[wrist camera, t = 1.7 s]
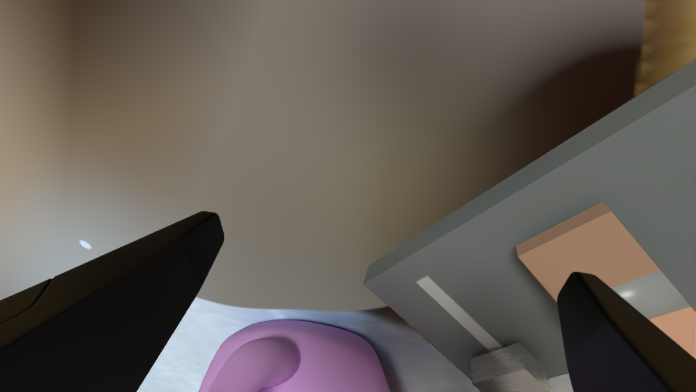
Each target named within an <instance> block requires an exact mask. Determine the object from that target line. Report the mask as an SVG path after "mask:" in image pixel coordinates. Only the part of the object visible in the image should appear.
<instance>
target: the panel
mask: <svg viewBox="0 0 696 392" xmlns="http://www.w3.org/2000/svg"><path fill="white" fill-rule="evenodd" d="M601 202H604V203H605V205H606V206H607V207H608V208H609V209H610V210H611V212H612V213H613V214H614V215H615V216H616V218H617V219H618V220H619V221H620V222H621V224H622V225H623V226H624V227H625V228H626V230H627V231H628V232H629V233H630V234H631V236H632V237H633V238H634V239H635V240H636V242H637V243H638V244H639V245H640V246H641V248H642V249H643V250H644V251H645V252H646V254H647V255H648V256H649V257H650V258H651V260H652V261H653V262H654V263H655V264H656V266H657V267H658V268H659V269H660V270H661V271H662V273H663V274H664V275H665V276H666V277H667V279H668V280H669V281H670V282H671V283H672V285H673V286H674V287H675V288H676V289H677V291H678V292H679V293H680V294H681V295H682V297H683V298H684V299H685V300H686V301H687V303H688V304H689V305H690V306H691V307H692V309H693V310H694V311H695V312H696V59H695V60H694V61H692V62H690V63H689V64H687V65H686V66H684V67H683V68H681V69H679V70H678V71H676V72H675V73H673V74H671V75H670V76H668V77H667V78H665V79H664V80H662V81H660V82H659V83H657V84H656V85H654V86H652V87H651V88H649V89H648V90H646V91H645V92H643V93H641V94H640V95H638V96H637V97H635V98H633V99H632V100H630V101H629V102H627V103H626V104H624V105H622V106H621V107H619V108H618V109H616V110H615V111H613V112H611V113H610V114H608V115H607V116H605V117H603V118H602V119H600V120H599V121H597V122H596V123H594V124H592V125H591V126H589V127H588V128H586V129H584V130H583V131H582V132H580V133H578V134H577V135H575V136H573V137H572V138H570V139H569V140H567V141H565V142H564V143H562V144H561V145H559V146H558V147H556V148H554V149H553V150H551V151H550V152H548V153H547V154H545V155H543V156H542V157H540V158H539V159H537V160H535V161H534V162H532V163H531V164H529V165H528V166H526V167H524V168H523V169H521V170H520V171H518V172H516V173H515V174H513V175H512V176H510V177H509V178H507V179H505V180H504V181H502V182H501V183H499V184H497V185H496V186H494V187H493V188H491V189H490V190H488V191H486V192H485V193H483V194H482V195H481V196H478V197H477V198H475V199H474V200H472V201H471V202H469V203H467V204H466V205H465V206H463V207H461V208H460V209H458V210H456V211H455V212H454V213H452V214H450V215H448V216H447V217H445V218H444V219H442V220H441V221H439V222H437V223H436V224H434V225H433V226H431V227H429V228H428V229H426V230H425V231H423V232H422V233H420V234H418V235H417V236H415V237H414V238H412V239H411V240H409V241H408V242H406V243H404V244H403V245H401V246H399V247H398V248H396V249H395V250H393V251H391V252H390V253H388V254H387V255H386V256H384V257H382V258H380V259H379V260H377V261H376V262H374V263H373V264H371V265H369V266H368V270H367V273H366V277H365V281H364V285H366V286H367V287H368V288H369V289H370V290H371V291H373V293H375V294H376V295H377V296H378V297H379V298H380V299H381V300H382V301H384V302H385V303H386V304H387V305H388V306H389V307H390V308H391V309H393V310H394V311H395V312H396V313H397V314H398V315H399V316H400V317H401V318H403V319H404V320H405V321H406V322H407V323H408V324H409V325H410V326H412V327H413V328H414V329H415V330H416V331H417V332H418V333H419V334H421V335H422V336H423V337H424V338H425V339H426V340H427V341H428V342H430V343H431V344H432V345H433V346H434V347H435V348H436V349H437V350H438V351H440V352H441V353H442V354H443V355H444V356H445V357H446V358H447V359H449V360H450V361H451V362H452V363H453V364H454V365H455V366H456V367H458V368H459V369H460V370H461V371H462V372H463V373H464V374H465V375H467V376H468V377H469V378H470V379H471V380H472V370H471V358H474V357H477V356H480V355H483V354H486V353H489V352H492V351H495V350H497V349H500V348H503V347H506V346H509V345H512V344H515V343H518V342H519V343H520V344H521V345H522V346H523V347H524V348H525V349H526V350H527V351H528V352H529V353H530V354H531V355H532V356H533V357H534V358H535V359H537V360H538V361H539V362H540V363H541V364H542V365H543V366H544V369H545V372H546V375H547V379H548V378H552V377H555V376H559V375H563V374H567V373H569V372H568V368H567V363H566V358H565V351H564V345H563V339H562V332H561V326H560V319H559V313H558V306H557V302H556V301H555V299H554V298H553V297H552V296H551V295H550V294H549V292H548V291H547V290H546V289H545V288H544V287H543V285H542V284H541V283H540V282H539V281H538V280H537V278H536V277H535V276H534V275H533V274H532V273H531V271H530V270H529V269H528V268H527V267H526V266H525V264H524V263H523V262H522V261H521V260H520V259H519V257H518V255H517V250H516V245H518V244H520V243H522V242H524V241H526V240H528V239H530V238H532V237H534V236H536V235H538V234H540V233H542V232H544V231H546V230H548V229H550V228H552V227H554V226H556V225H558V224H560V223H562V222H564V221H566V220H568V219H570V218H572V217H574V216H576V215H577V214H579V213H581V212H583V211H585V210H587V209H589V208H591V207H593V206H595V205H597V204H599V203H601Z"/></svg>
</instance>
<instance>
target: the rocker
mask: <svg viewBox="0 0 696 392" xmlns="http://www.w3.org/2000/svg"><path fill="white" fill-rule="evenodd" d="M516 250H517V255H518V257H519V259H520V260H521V261H522V262H523V263H524V264H525V266H526V267H527V268H528V269H529V270H530V271H531V273H532V274H533V275H534V276H535V277H536V278H537V280H538V281H539V282H540V283H541V284H542V285H543V287H544V288H545V289H546V290H547V291H548V292H549V294H550V295H551V296H552V297H553V298H554V299H555V301H556V302H557V297H558V294H559V292H560V290H561V289H562V287H563V285H564V284H565V282H566V280H567V279H568V277H569V275H570V274H571V273H573V272H583V273H589V274H593V275H596V276H597V277H598V278H600V279H601V280H602V281H603V282H604V283H606V284H607V285H608V286H609V287H610V288H612V289H613V290H614V291H615V292H616V293H617V294H619V295H620V296H621V297H622V298H623V299H625V300H626V301H627V302H628V303H629V304H631V305H632V306H633V307H634V308H635V309H637V310H638V311H639V312H640V313H641V314H643V315H644V316H645V317H646V318H647V319H649V320H650V321H651V322H652V323H653V324H655V325H656V326H657V327H658V328H659V329H661V330H662V331H663V332H664V333H665V334H667V335H668V336H669V337H670V338H671V339H673V340H674V341H675V342H676V343H677V344H678V345H680V346H681V347H682V348H683V349H684V350H686V351H687V352H688V353H689V354H690V355H692V356H693V357H694V358H695V359H696V312H695V311H694V310H693V309H692V307H691V306H690V305H689V304H688V303H687V301H686V300H685V299H684V298H683V297H682V295H681V294H680V293H679V292H678V291H677V289H676V288H675V287H674V286H673V285H672V283H671V282H670V281H669V280H668V279H667V277H666V276H665V275H664V274H663V273H662V271H661V270H660V269H659V268H658V267H657V266H656V264H655V263H654V262H653V261H652V260H651V258H650V257H649V256H648V255H647V254H646V252H645V251H644V250H643V249H642V248H641V246H640V245H639V244H638V243H637V242H636V240H635V239H634V238H633V237H632V236H631V234H630V233H629V232H628V231H627V230H626V228H625V227H624V226H623V225H622V224H621V222H620V221H619V220H618V219H617V218H616V216H615V215H614V214H613V213H612V212H611V210H610V209H609V208H608V207H607V206H606V205H605V203H604V202H601V203H599V204H597V205H595V206H593V207H591V208H589V209H587V210H585V211H583V212H581V213H579V214H577V215H576V216H574V217H572V218H570V219H568V220H566V221H564V222H562V223H560V224H558V225H556V226H554V227H552V228H550V229H548V230H546V231H544V232H542V233H540V234H538V235H536V236H534V237H532V238H530V239H528V240H526V241H524V242H522V243H520V244H518V245H516Z"/></svg>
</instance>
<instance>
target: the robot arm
mask: <svg viewBox="0 0 696 392" xmlns="http://www.w3.org/2000/svg"><path fill="white" fill-rule="evenodd" d="M223 242H224V232H223V229H222V225H221V222H220V218H219V216H218V214H216V213H214V212H208V211H201V212H199V213H196V214H194V215H192V216H190V217H187V218H185V219H183V220H181V221H179V222H176V223H174V224H172V225H170V226H167V227H165V228H163V229H160V230H159V231H156V232H154V233H151V234H149V235H147V236H145V237H143V238H140V239H138V240H136V241H134V242H132V243H129V244H127V245H125V246H123V247H120V248H118V249H116V250H113V251H111V252H109V253H107V254H105V255H102V256H100V257H98V258H95V259H93V260H91V261H89V262H86V263H84V264H82V265H80V266H77V267H75V268H73V269H71V270H68V271H66V272H64V273H62V274H59V275H57V276H55V277H54V278H53V279H48V280H46V281H44V282H41V283H39V284H37V285H35V286H32V287H30V288H28V289H26V290H23V291H21V292H19V293H16V294H14V295H12V296H9V297H7V298H5V299H2V300H0V392H137V390H138V389H139V387H140V385H141V384H142V382H143V381H144V379H145V377H146V376H147V374H148V373H149V371H150V369H151V368H152V366H153V365H154V363H155V361H156V360H157V358H158V357H159V355H160V353H161V352H162V350H163V349H164V347H165V345H166V344H167V342H168V341H169V339H170V337H171V336H172V334H173V333H174V331H175V329H176V328H177V326H178V325H179V323H180V321H181V320H182V318H183V317H184V315H185V313H186V312H187V310H188V309H189V307H190V305H191V304H192V302H193V301H194V299H195V297H196V296H197V294H198V292H199V290H200V289H201V287H202V285H203V283H204V281H205V279H206V277H207V275H208V273H209V271H210V269H211V267H212V265H213V263H214V261H215V259H216V257H217V255H218V253H219V250H220V248H221V246H222V244H223ZM557 306H558V313H559V319H560V326H561V332H562V339H563V345H564V351H565V358H566V363H567V368H568V372H569V376H570V380H571V384H572V387H573V391H574V392H696V359H695V358H694V357H693V356H692V355H690V354H689V353H688V352H687V351H686V350H684V349H683V348H682V347H681V346H680V345H678V344H677V343H676V342H675V341H674V340H673V339H671V338H670V337H669V336H668V335H667V334H665V333H664V332H663V331H662V330H661V329H659V328H658V327H657V326H656V325H655V324H653V323H652V322H651V321H650V320H649V319H647V318H646V317H645V316H644V315H643V314H641V313H640V312H639V311H638V310H637V309H635V308H634V307H633V306H632V305H631V304H629V303H628V302H627V301H626V300H625V299H623V298H622V297H621V296H620V295H619V294H617V293H616V292H615V291H614V290H613V289H612V288H610V287H609V286H608V285H607V284H606V283H604V282H603V281H602V280H601V279H600V278H598V277H597V276H596V275H593V274H589V273H583V272H573V273H571V274H570V275H569V277H568V279H567V280H566V282H565V284H564V285H563V287H562V289H561V290H560V292H559V294H558V297H557Z"/></svg>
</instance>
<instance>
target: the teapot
mask: <svg viewBox="0 0 696 392" xmlns="http://www.w3.org/2000/svg"><path fill="white" fill-rule="evenodd" d="M199 392H390V390H389V386H388V383H387V380H386V377H385V374H384V372H383V369H382V366H381V364H380V361H379V359H378V357H377V355H376V353H375V351H374V349H373V348H372V346H371V345H370V344H369V343H368V342H367V341H366V340H365V339H363V338H361V337H360V336H358V335H356V334H354V333H351V332H349V331H346V330H342V329H339V328H335V327H331V326H327V325H323V324H318V323H313V322H307V321H298V320H275V321H265V322H259V323H255V324H252V325H249V326H247V327H245V328H243V329H241V330H239V331H238V332H236V333H234V334H233V335H231V336H230V337H228V338H227V339H226V340H225V341H224V342H223V344H222V345H221V346H220V348H219V349H218V351H217V353H216V354H215V356H214V358H213V360H212V362H211V364H210V366H209V368H208V370H207V372H206V375H205V377H204V379H203V381H202V384H201V387H200V390H199Z"/></svg>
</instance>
